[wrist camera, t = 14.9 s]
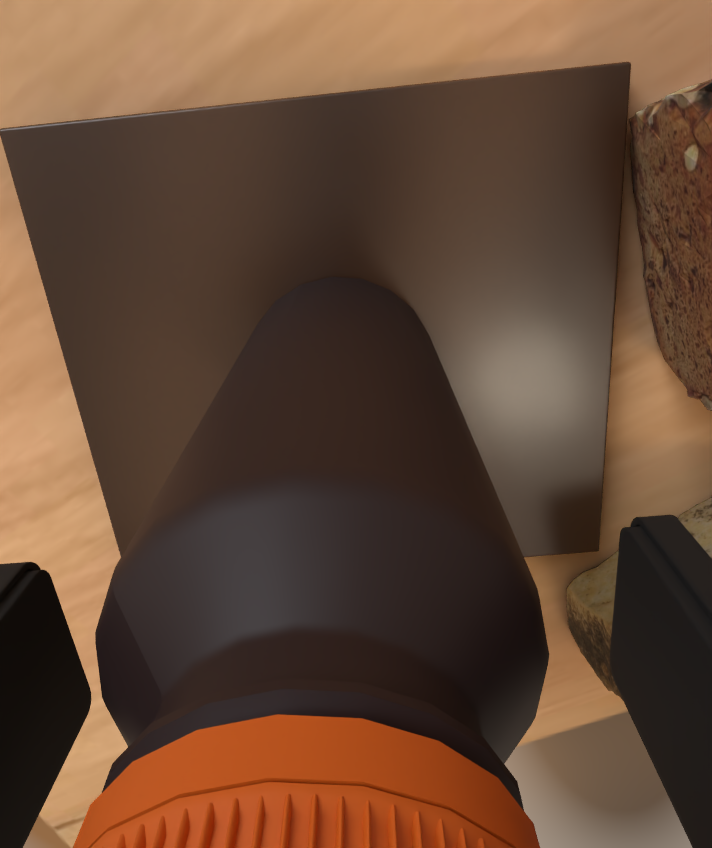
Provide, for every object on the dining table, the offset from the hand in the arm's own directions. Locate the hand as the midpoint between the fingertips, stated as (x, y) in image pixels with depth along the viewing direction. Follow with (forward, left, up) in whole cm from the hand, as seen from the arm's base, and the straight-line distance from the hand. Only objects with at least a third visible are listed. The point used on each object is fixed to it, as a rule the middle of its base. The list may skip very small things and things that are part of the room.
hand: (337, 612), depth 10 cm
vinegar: (0, 0, -14) cm, 14 cm away
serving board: (0, 0, -15) cm, 15 cm away
